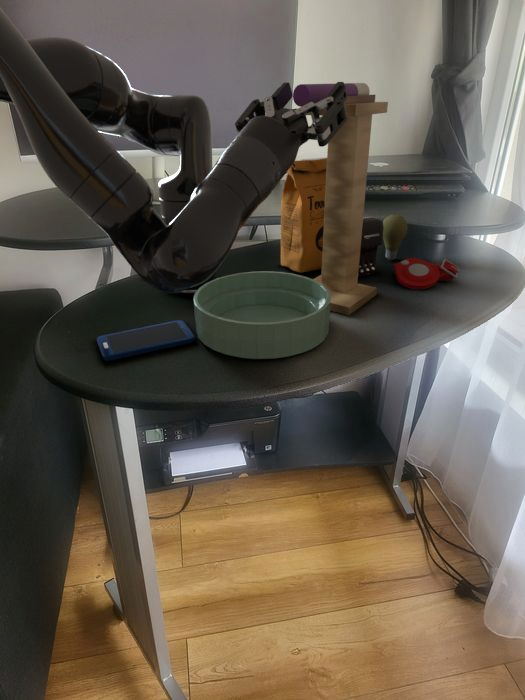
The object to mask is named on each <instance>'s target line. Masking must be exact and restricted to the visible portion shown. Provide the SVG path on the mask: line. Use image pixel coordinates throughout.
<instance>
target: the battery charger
mask: <svg viewBox="0 0 525 700" xmlns="http://www.w3.org/2000/svg"><path fill="white" fill-rule="evenodd" d="M382 222H383V221H382V220H381V219H379V218H376V217H375V216H363V226H362V237H361V248H360V260H359V271H358V278H360V277H365V276H371V275H373V274H376V273H377V270H378V269H377V268H378V267H377V254H378V253H377V252H378V247H379V246H382V245H383V242H384V239H383V229H384V226H383V223H382Z"/></svg>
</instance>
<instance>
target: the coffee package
mask: <svg viewBox="0 0 525 700" xmlns="http://www.w3.org/2000/svg"><path fill="white" fill-rule="evenodd" d="M326 172H327V157H325V158H319V159H318V158H317V159H309V160H308V159H304V160H303V159H302V160H295V161H294V163H293V164H292V166H291V167H290V168H289V170H288V171H287V172H286V178H285V181H284V183H283V188H282V191H281V192H282V193H281V200H280V201H281V202H280V203H281V205H280V266H282V267H285V268H288V269H290V270H291V271H293V272H296V273H299V274H303V273H309V272H314V271H322V254H323V233H324V213H325V192H326Z"/></svg>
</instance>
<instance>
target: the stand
mask: <svg viewBox="0 0 525 700" xmlns="http://www.w3.org/2000/svg"><path fill="white" fill-rule="evenodd" d="M344 106H345V111H346V117H347V121H346V122H345V123H344V124H343V126H342V127H341V128H340V129H339V130H338V132H337V133H336V134H335V135H334V137H333V138H332V139H331V140H330V141H329V143H328V144H327V152H326V153H327V155H326V158H327V172H326V192H325V213H324V233H323V254H322V270H321V274H320V275H318V276H316V277H315V278H312V279H313V280H316V281H317V282H319V283H321V284H323V285H324V286H325V287H326V288H327V289H328V290H329V292H330V294H331V307H330V312H335V313H338V314H342V315H346V316H350V315H351V314H353V313H354V312H355V311H356V310H358V309H359V308H361V307H362V306H363V305H365V304H366V303H368V302H369V301H370V300H371V299H373V298H374V297H375V296H377V289H378V287H376V286H372V285H366V284H363V283H358V281H359V277H358V271H359V260H360V248H361V237H362V226H363V217H364V213H365V203H366V191H367V180H368V179H367V178H368V167H369V157H370V147H371V146H370V145H371V133H372V121H373V115H377V114H379V115H380V114H385V113H386V114H387V113H388V107H389V101H376V94H369V95H356V96H347V99H346V100H345V102H344ZM325 113H326V108H324V109H322V110H320V111H319V115H320V117H321V116H323V115H324V114H325ZM306 116H311V113H310V112H309V113H307V114H306Z"/></svg>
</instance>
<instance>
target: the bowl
mask: <svg viewBox="0 0 525 700" xmlns="http://www.w3.org/2000/svg"><path fill="white" fill-rule="evenodd" d="M313 279H314V278H310V277H308V276H305V275H301V274H296V273H291V272H285V271H269V270H267V271H266V270H265V271H264V270H263V271H261V270H260V271H247V272H246V271H245V272H238V273H233V274H229V275H227V274H226V275H223V276H221V277H216V279H214V280H212V281H210V282H208V283H206V284H204V285H203V286H201V287H200V288H199V289H198V290H197V291H196V293H195V295H193V299H192V300H193V301H192V302H193V309H194V310H193V312H194V321H195V332H196V335H197V338H198V339H199V341H201V343H203V345H205V346H206V347H207V348H210V349H211V350H213V351H215V352H218V353H220V354H224V355H227V356H231V357H237V358H241V359H250V360H269V359H271V360H272V359H273V360H274V359H281V358H287V357H288V358H289V357H293V356H296V355H299V354H303V353H305V352H308V351H310V350H312V349H314V348H316V347H318V346H319V345H320V344H322V343H323V342H324V341H325V339H326V338H327V337H328V335H329V332H330V323H331V321H330V320H331V310H330V307H331V294H330V292H329V290H328V289H327V288H326V287H325V286H324V285H323V284H321V283H319V282H317V281H316V280H313Z"/></svg>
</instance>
